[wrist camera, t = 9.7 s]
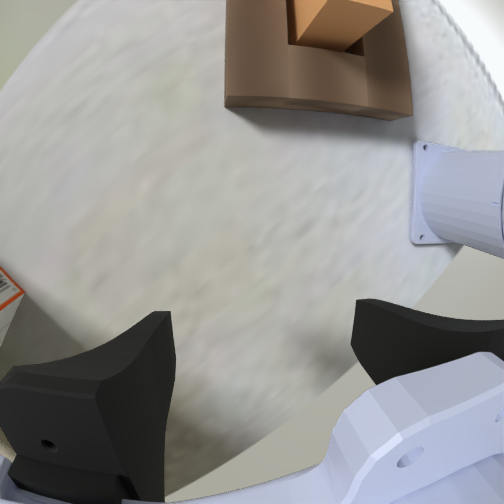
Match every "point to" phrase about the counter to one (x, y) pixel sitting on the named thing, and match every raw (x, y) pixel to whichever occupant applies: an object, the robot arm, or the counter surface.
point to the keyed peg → (333, 21)
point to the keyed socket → (314, 66)
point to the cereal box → (8, 302)
